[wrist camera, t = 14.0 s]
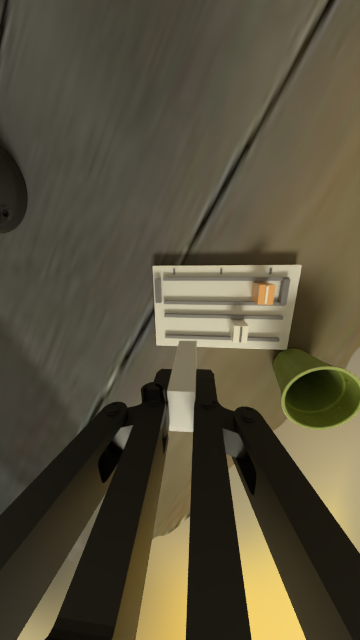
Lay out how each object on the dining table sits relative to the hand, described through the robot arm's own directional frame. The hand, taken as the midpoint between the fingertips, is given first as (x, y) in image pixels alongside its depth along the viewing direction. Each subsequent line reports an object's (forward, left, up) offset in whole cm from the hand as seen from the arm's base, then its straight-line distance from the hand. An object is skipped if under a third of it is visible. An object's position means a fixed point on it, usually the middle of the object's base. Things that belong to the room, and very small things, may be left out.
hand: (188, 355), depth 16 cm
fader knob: (-3, +12, -21) cm, 24 cm away
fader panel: (+1, +5, -23) cm, 23 cm away
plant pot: (+13, +20, -23) cm, 33 cm away
